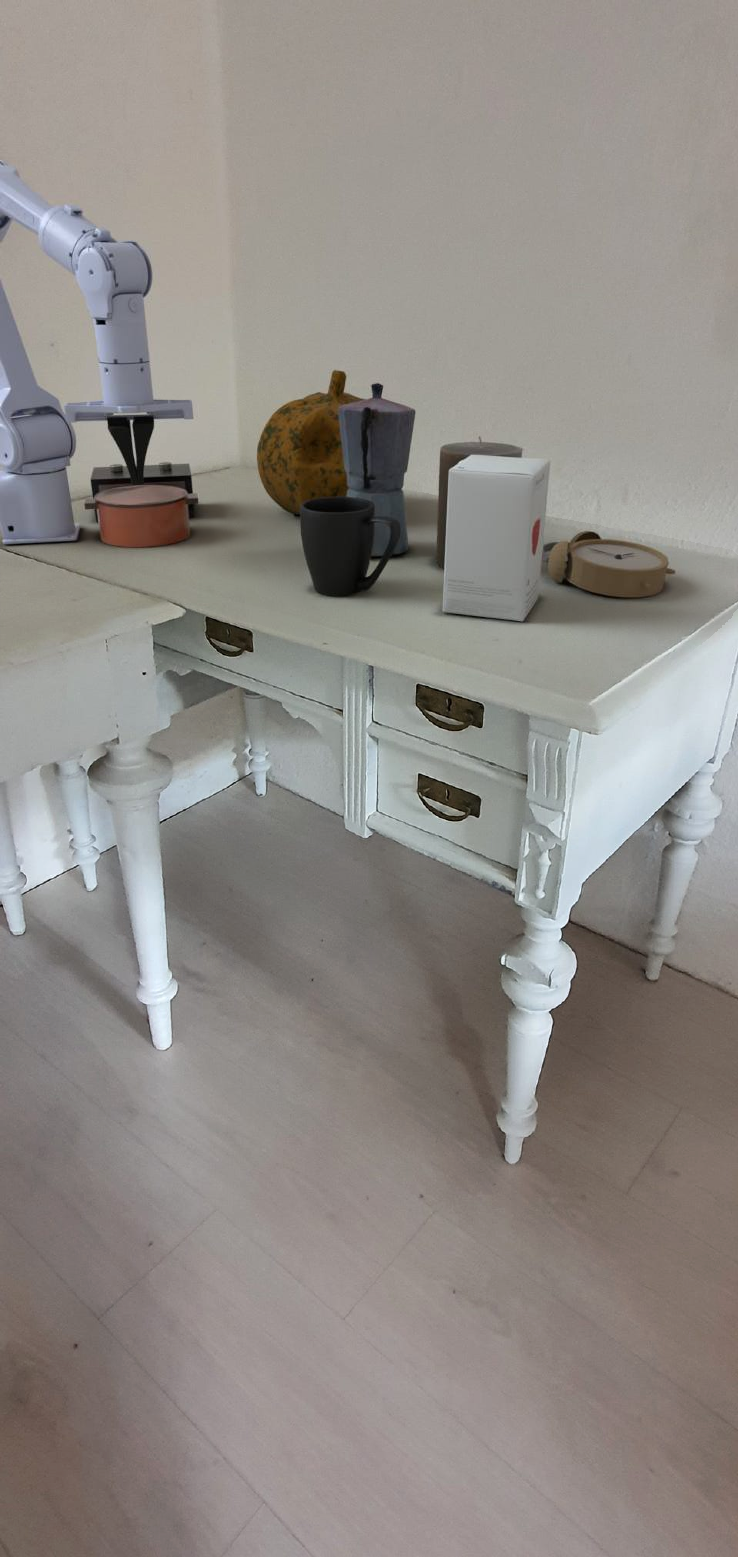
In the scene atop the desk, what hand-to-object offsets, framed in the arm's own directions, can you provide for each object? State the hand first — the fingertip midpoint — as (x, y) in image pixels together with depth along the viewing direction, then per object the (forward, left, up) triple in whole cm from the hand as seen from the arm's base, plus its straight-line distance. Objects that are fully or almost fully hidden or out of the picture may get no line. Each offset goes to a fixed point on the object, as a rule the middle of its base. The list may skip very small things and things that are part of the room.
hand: (137, 483), depth 117 cm
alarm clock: (+52, -21, -10) cm, 57 cm away
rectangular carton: (+37, -27, -10) cm, 47 cm away
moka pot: (+29, -3, -10) cm, 31 cm away
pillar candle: (+40, -11, -10) cm, 42 cm away
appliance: (0, +25, -9) cm, 27 cm away
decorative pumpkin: (+27, +19, -10) cm, 34 cm away
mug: (+23, -19, -10) cm, 31 cm away
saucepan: (0, +12, -9) cm, 15 cm away
